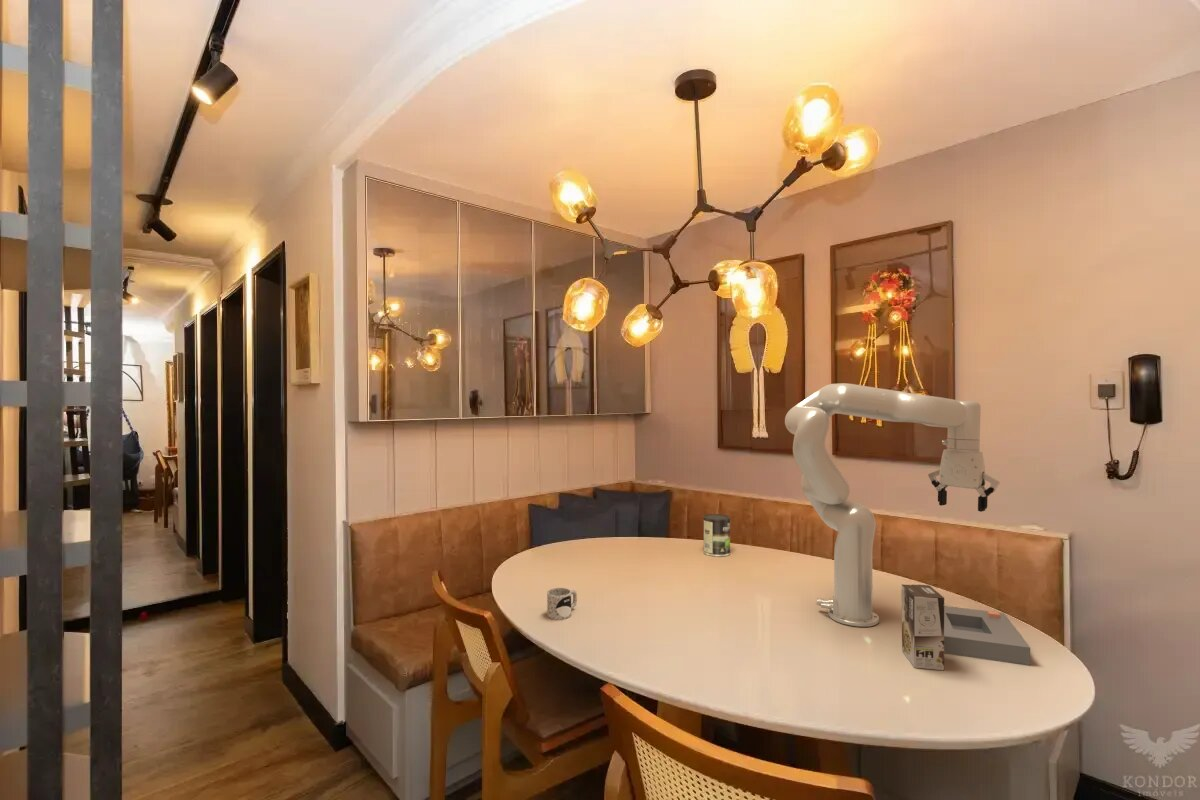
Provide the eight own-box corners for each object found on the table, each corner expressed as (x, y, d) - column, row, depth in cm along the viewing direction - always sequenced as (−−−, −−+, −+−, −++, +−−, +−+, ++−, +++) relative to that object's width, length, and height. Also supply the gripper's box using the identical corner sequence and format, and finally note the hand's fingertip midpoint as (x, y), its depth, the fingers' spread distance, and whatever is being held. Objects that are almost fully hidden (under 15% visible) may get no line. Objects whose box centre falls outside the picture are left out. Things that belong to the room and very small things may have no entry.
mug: (558, 622, 155) (558, 597, 155) (542, 616, 159) (542, 592, 159) (584, 611, 162) (584, 588, 162) (568, 606, 167) (568, 583, 167)
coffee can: (734, 551, 223) (734, 515, 222) (724, 558, 214) (724, 520, 214) (709, 548, 228) (709, 512, 228) (699, 554, 220) (698, 517, 219)
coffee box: (945, 671, 126) (945, 598, 126) (913, 668, 127) (913, 596, 127) (930, 652, 135) (930, 584, 135) (900, 650, 136) (900, 582, 136)
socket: (928, 650, 136) (928, 630, 136) (916, 617, 156) (916, 599, 156) (1030, 665, 128) (1030, 644, 128) (1004, 628, 149) (1003, 609, 149)
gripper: (923, 443, 162) (922, 504, 162) (994, 448, 148) (992, 515, 148) (935, 442, 166) (934, 501, 166) (1005, 447, 152) (1003, 512, 152)
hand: (961, 507), depth 157 cm, fingers open, 9 cm apart
